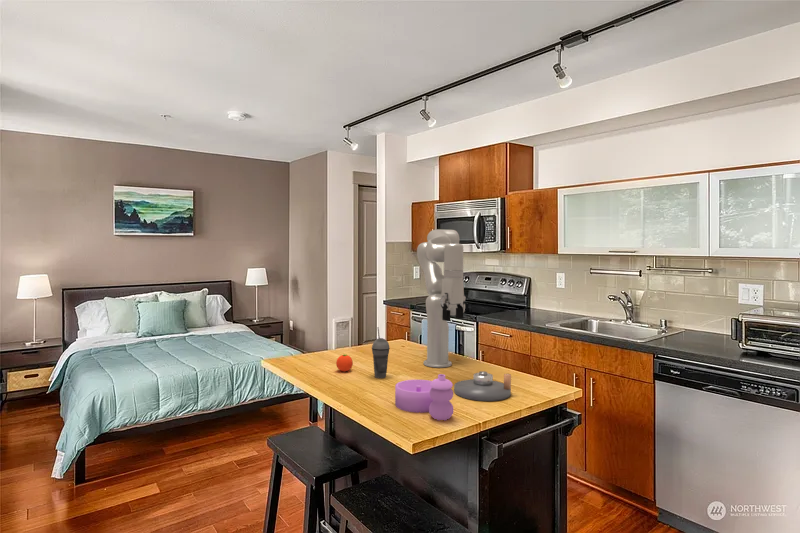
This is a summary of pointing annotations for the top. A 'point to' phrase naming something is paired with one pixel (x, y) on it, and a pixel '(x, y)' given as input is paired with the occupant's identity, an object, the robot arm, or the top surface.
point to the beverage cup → (380, 356)
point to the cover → (483, 378)
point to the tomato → (344, 363)
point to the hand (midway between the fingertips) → (453, 319)
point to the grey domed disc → (484, 390)
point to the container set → (426, 397)
